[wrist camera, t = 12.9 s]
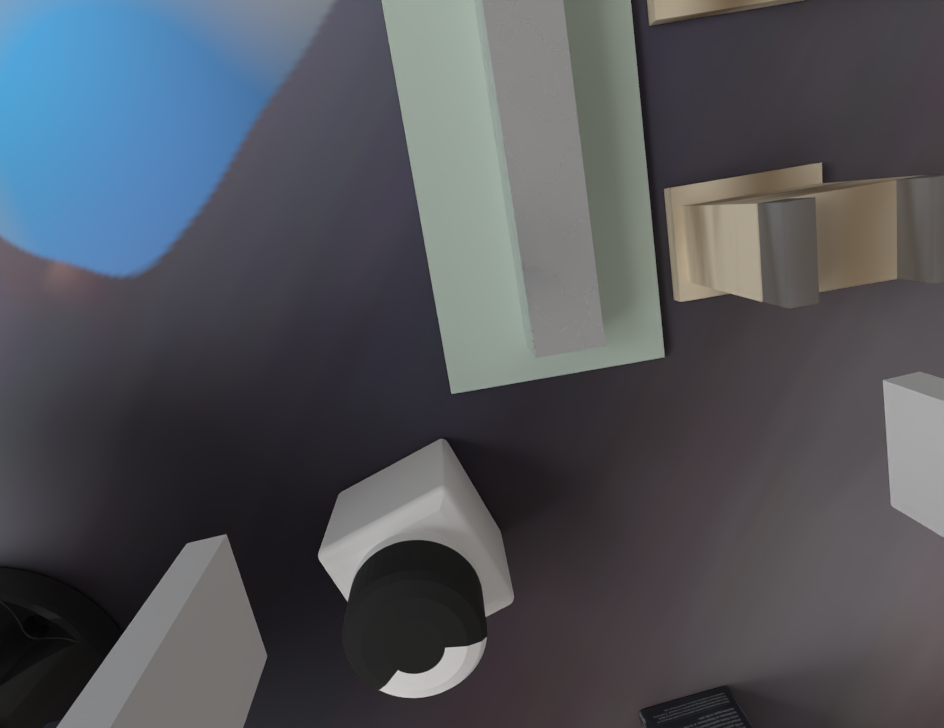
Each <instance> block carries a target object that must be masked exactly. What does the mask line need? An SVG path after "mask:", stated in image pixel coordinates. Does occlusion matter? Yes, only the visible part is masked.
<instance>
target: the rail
mask: <svg viewBox="0 0 944 728" xmlns="http://www.w3.org/2000/svg"><path fill="white" fill-rule="evenodd" d="M474 6H475V12H476V19H477V25H478V32H479V39H480V45H481V52H482V58H483V65H484V71H485V78H486V85H487V91H488V98H489V104H490V111H491V117H492V124H493V131H494V137H495V144H496V150H497V157H498V164H499V170H500V177H501V183H502V190H503V196H504V203H505V210H506V216H507V223H508V229H509V236H510V243H511V249H512V256H513V262H514V269H515V275H516V282H517V289H518V295H519V302H520V308H521V315H522V321H523V328H524V335H525V341H526V345H527V346H528V348H529V349H530V351H531V352H532V354H533V355H534V357H535V358H540V357H546V356H551V355H557V354H562V353H568V352H574V351H579V350H585V349H591V348H596V347H602V346H605V338H604V330H603V322H602V314H601V305H600V297H599V289H598V281H597V273H596V265H595V256H594V248H593V240H592V232H591V224H590V216H589V207H588V199H587V191H586V183H585V175H584V166H583V158H582V150H581V142H580V134H579V126H578V117H577V109H576V101H575V93H574V85H573V77H572V68H571V60H570V52H569V44H568V36H567V28H566V19H565V11H564V3H563V0H474Z"/></svg>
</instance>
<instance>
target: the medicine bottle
mask: <svg viewBox="0 0 944 728" xmlns="http://www.w3.org/2000/svg"><path fill="white" fill-rule="evenodd" d="M318 558H319V561H320V562H321V564H322V565H323V566H324V568H325V569H326V571H327V572H328V574H329V575H330V577H331V578H332V580H333V581H334V583H335V584H336V586H337V587H338V589H339V590H340V591H341V593H342V594H343V596H344V597H345V599H346V600H347V602H348V603H347V607H346V612H345V616H344V621H343V626H342V644H343V649H344V652H345V655H346V658H347V660H348V662H349V664H350V665H351V667H352V668H353V669H354V671H355V672H356V673H357V674H358V675H359V676H360V677H361V678H362V679H363V680H364V681H365V682H367V683H368V684H369V685H371V686H373V687H374V688H376V689H378V690H380V691H382V692H385V693H387V694H390V695H394V696H398V697H404V698H421V697H428V696H433V695H436V694H439V693H442V692H444V691H446V690H448V689H450V688H452V687H454V686H455V685H457V684H459V683H460V682H461V681H463V680H464V679H465V678H466V677H467V676H468V675H469V674H470V673H471V672H472V671H473V670H474V669H475V667H476V666H477V664H478V663H479V661H480V659H481V657H482V655H483V652H484V649H485V646H486V640H487V624H486V617H487V616H489V615H491V614H493V613H495V612H496V611H498V610H500V609H502V608H504V607H506V606H508V605H510V604H511V603H512V602H513V600H514V593H513V588H512V584H511V579H510V574H509V569H508V564H507V559H506V555H505V550H504V545H503V540H502V535H501V531H500V530H499V528H498V526H497V525H496V523H495V521H494V519H493V518H492V516H491V514H490V513H489V511H488V509H487V508H486V506H485V504H484V503H483V501H482V499H481V497H480V496H479V494H478V492H477V491H476V489H475V487H474V486H473V484H472V482H471V481H470V479H469V477H468V475H467V474H466V472H465V470H464V469H463V467H462V465H461V464H460V462H459V460H458V459H457V457H456V455H455V453H454V452H453V450H452V448H451V447H450V445H449V443H448V442H447V441H446V440H445V439H439V440H437V441H435V442H433V443H431V444H429V445H428V446H426V447H424V448H422V449H420V450H418V451H416V452H414V453H413V454H411V455H409V456H407V457H405V458H403V459H401V460H400V461H398V462H396V463H394V464H392V465H390V466H388V467H387V468H385V469H383V470H381V471H379V472H377V473H375V474H374V475H372V476H370V477H368V478H366V479H364V480H362V481H361V482H359V483H357V484H355V485H353V486H351V487H349V488H348V489H346V490H344V491H342V492H341V493H340V494H338V497H337V500H336V503H335V506H334V509H333V512H332V515H331V518H330V520H329V523H328V526H327V529H326V532H325V535H324V538H323V541H322V544H321V547H320V549H319V553H318Z"/></svg>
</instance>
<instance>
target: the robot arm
mask: <svg viewBox="0 0 944 728" xmlns="http://www.w3.org/2000/svg"><path fill="white" fill-rule="evenodd" d="M883 389H884V405H885V420H886V436H887V451H888V466H889V482H890V497H891V506H892V507H894V508H896V509H897V510H899V511H901V512H902V513H904V514H906V515H907V516H909V517H910V518H912V519H914V520H915V521H917V522H919V523H920V524H922V525H924V526H925V527H927V528H929V529H930V530H932V531H934V532H935V533H937V534H939V535H940V536H942V537H944V379H943V378H939V377H936V376H933V375H929V374H926V373H923V372H916V373H912V374H907V375H903V376H899V377H894V378H890V379H886V380H883ZM266 659H267V654H266V651H265V648H264V645H263V642H262V639H261V636H260V633H259V630H258V627H257V624H256V621H255V618H254V615H253V612H252V609H251V606H250V603H249V600H248V597H247V594H246V591H245V588H244V585H243V582H242V579H241V576H240V573H239V570H238V567H237V564H236V561H235V558H234V555H233V552H232V549H231V546H230V543H229V540H228V537H227V534H225V535H220V536H216V537H212V538H208V539H203V540H199V541H195V542H191V543H187V544H186V545H185V547H184V548H183V549H182V551H181V552H180V554H179V555H178V556H177V558H176V559H175V561H174V562H173V564H172V565H171V566H170V568H169V569H168V571H167V572H166V573H165V575H164V576H163V578H162V579H161V580H160V582H159V583H158V585H157V586H156V588H155V589H154V590H153V592H152V593H151V595H150V596H149V597H148V599H147V600H146V602H145V603H144V605H143V606H142V607H141V609H140V610H139V612H138V613H137V614H136V616H135V617H134V619H133V620H132V621H131V623H130V624H129V626H128V627H127V629H126V630H125V631H124V633H123V634H122V633H121V631H120V630H119V628H118V627H117V626H116V625H115V623H114V622H113V621H112V620H111V619H110V618H109V616H108V615H107V614H106V613H105V612H104V611H103V610H102V609H100V608H99V607H98V606H97V605H96V604H95V603H93V602H92V601H91V600H90V599H88V598H87V597H85V596H84V595H82V594H81V593H79V592H78V591H76V590H74V589H73V588H71V587H69V586H67V585H65V584H63V583H61V582H58V581H56V580H54V579H51V578H48V577H46V576H43V575H39V574H36V573H32V572H28V571H23V570H18V569H10V568H0V728H243V727H244V724H245V721H246V718H247V715H248V712H249V709H250V706H251V703H252V700H253V697H254V694H255V691H256V688H257V686H258V683H259V680H260V677H261V674H262V671H263V668H264V665H265V662H266Z"/></svg>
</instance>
